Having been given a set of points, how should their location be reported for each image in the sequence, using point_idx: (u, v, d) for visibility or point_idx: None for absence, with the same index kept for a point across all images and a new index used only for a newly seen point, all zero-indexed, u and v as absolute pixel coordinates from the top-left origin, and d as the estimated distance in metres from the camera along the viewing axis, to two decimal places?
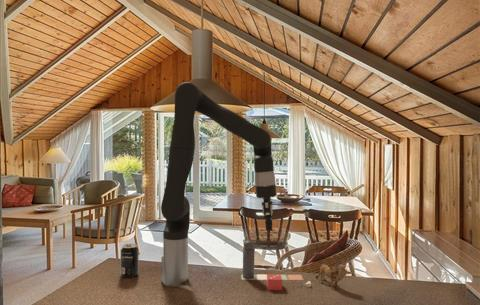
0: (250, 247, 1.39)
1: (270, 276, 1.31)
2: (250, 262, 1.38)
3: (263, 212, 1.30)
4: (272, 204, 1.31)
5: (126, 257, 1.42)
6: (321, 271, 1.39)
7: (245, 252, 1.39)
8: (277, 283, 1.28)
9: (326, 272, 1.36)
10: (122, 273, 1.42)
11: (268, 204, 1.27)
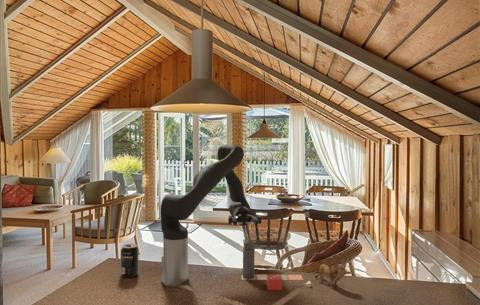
0: (250, 247, 1.39)
1: (270, 276, 1.31)
2: (250, 262, 1.38)
3: (253, 216, 1.58)
4: (248, 223, 1.60)
5: (126, 257, 1.42)
6: (320, 271, 1.39)
7: (245, 252, 1.39)
8: (277, 283, 1.28)
9: (325, 272, 1.36)
10: (122, 273, 1.42)
11: None
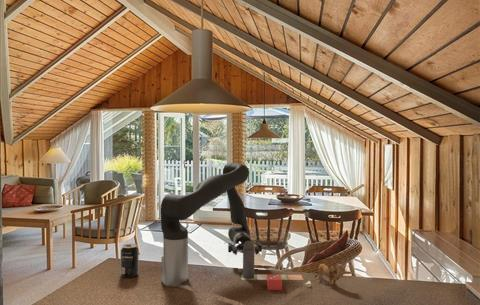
0: (250, 247, 1.39)
1: (270, 276, 1.31)
2: (250, 262, 1.38)
3: (254, 244, 1.54)
4: None
5: (126, 257, 1.42)
6: (319, 270, 1.40)
7: (245, 252, 1.39)
8: (277, 283, 1.28)
9: (324, 271, 1.37)
10: (122, 273, 1.42)
11: None
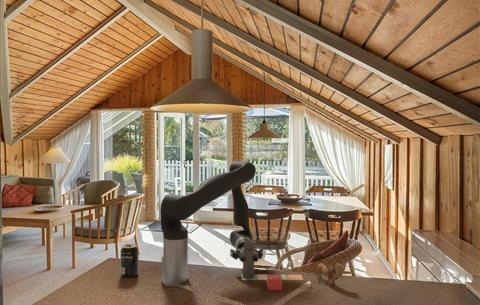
0: (250, 247, 1.39)
1: (270, 276, 1.31)
2: (250, 262, 1.38)
3: (254, 250, 1.45)
4: None
5: (126, 257, 1.42)
6: (318, 270, 1.40)
7: (245, 252, 1.39)
8: (277, 283, 1.28)
9: (323, 271, 1.37)
10: (122, 273, 1.42)
11: None
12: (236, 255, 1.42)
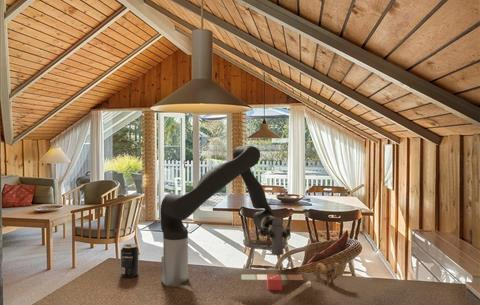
0: (280, 223, 1.39)
1: (270, 276, 1.31)
2: (280, 238, 1.39)
3: None
4: None
5: (126, 257, 1.42)
6: (317, 269, 1.41)
7: (275, 228, 1.39)
8: (277, 283, 1.28)
9: (322, 270, 1.38)
10: (122, 273, 1.42)
11: None
12: (265, 232, 1.42)
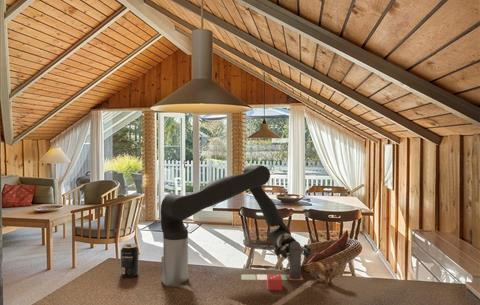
0: (297, 247, 1.39)
1: (270, 276, 1.31)
2: (297, 262, 1.39)
3: None
4: None
5: (126, 257, 1.42)
6: (315, 269, 1.42)
7: (293, 252, 1.39)
8: (277, 283, 1.28)
9: (320, 270, 1.39)
10: (122, 273, 1.42)
11: None
12: (277, 251, 1.42)
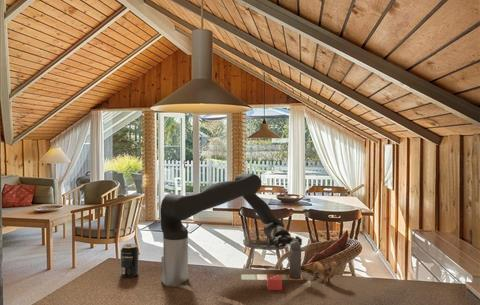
0: (298, 247, 1.39)
1: (270, 276, 1.31)
2: (298, 262, 1.39)
3: (293, 237, 1.58)
4: None
5: (126, 257, 1.42)
6: (314, 268, 1.42)
7: (293, 252, 1.39)
8: (277, 283, 1.28)
9: (319, 269, 1.39)
10: (122, 273, 1.42)
11: None
12: (270, 241, 1.55)
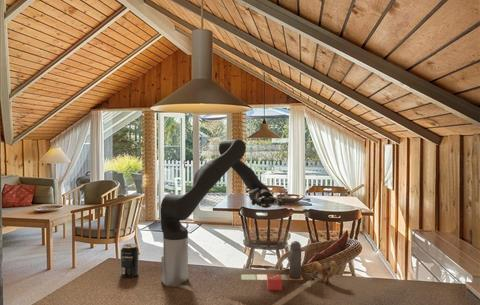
0: (298, 247, 1.38)
1: (270, 276, 1.31)
2: (298, 262, 1.38)
3: (276, 198, 1.59)
4: (271, 205, 1.61)
5: (126, 257, 1.42)
6: (313, 268, 1.43)
7: (293, 252, 1.38)
8: (277, 283, 1.28)
9: (318, 269, 1.40)
10: (122, 273, 1.42)
11: None
12: (253, 201, 1.56)
